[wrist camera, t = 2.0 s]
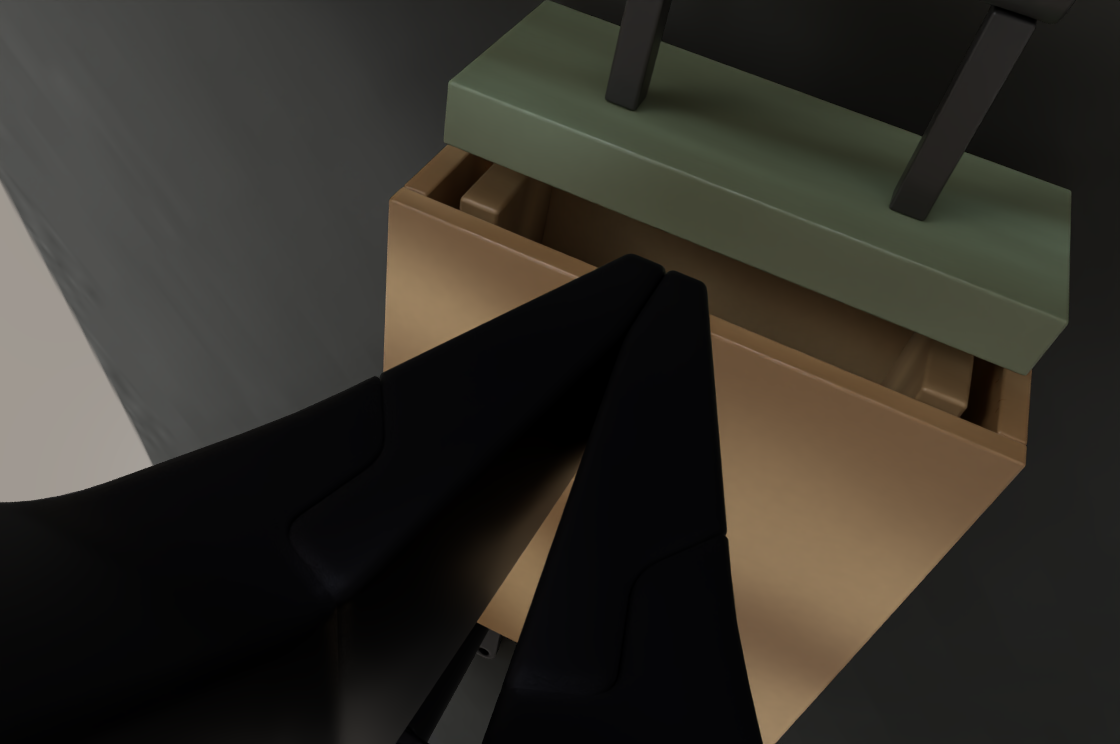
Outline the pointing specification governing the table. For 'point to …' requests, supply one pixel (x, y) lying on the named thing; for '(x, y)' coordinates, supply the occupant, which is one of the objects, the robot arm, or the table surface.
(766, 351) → the cabinet
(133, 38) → the table surface
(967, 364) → the drawer
